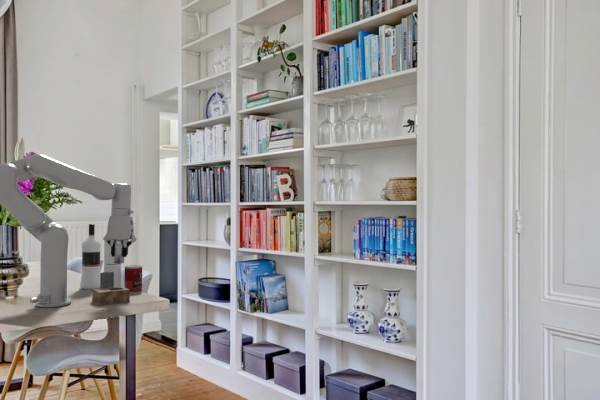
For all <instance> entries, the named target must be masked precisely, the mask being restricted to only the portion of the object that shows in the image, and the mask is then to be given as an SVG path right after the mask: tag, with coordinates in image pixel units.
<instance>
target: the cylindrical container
mask: <svg viewBox="0 0 600 400" xmlns="http://www.w3.org/2000/svg"><path fill="white" fill-rule="evenodd" d="M104 237H105V235H104ZM104 237H103V238H104ZM109 240H111V239H109ZM103 241H104V243H103V247H104V248H103V249H104V250H103V272H114V287H122V286H121V282H122V280H121V276H122V275H121V273H122V266H121V264H122V263H114V257H112V254H111V247H110V245H109V244H108V243H107V242H106V241H105V240H103Z"/></svg>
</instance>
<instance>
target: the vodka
mask: <svg viewBox="0 0 600 400" xmlns="http://www.w3.org/2000/svg"><path fill="white" fill-rule="evenodd" d="M95 227H96V225H95V223H89V224H88V237H87V238H86V239H85V240H83V242H82V243H81V280H80V283H79V287H80V289H82V290H92V289H100V273H101V251H102V250H101V248H102V243H101V241H100V240H98V239H97V238H96V237H95V235H96V234H95V233H96V232H95Z"/></svg>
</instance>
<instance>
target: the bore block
mask: <svg viewBox="0 0 600 400" xmlns="http://www.w3.org/2000/svg"><path fill="white" fill-rule="evenodd" d="M91 291H92V292H91V293H92V296H91V297H92V301H91V302H93V303H94V304H96V305H99V306H102V305H103V306H104V305H106V306H107V305H115V304H120V303H121V304H123V303H130V298H131V297H130V295H131V294H130V293H131V291H130V289H127V288H124V286H121V287H111V288H101V289H100V288H98V289H91Z"/></svg>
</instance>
